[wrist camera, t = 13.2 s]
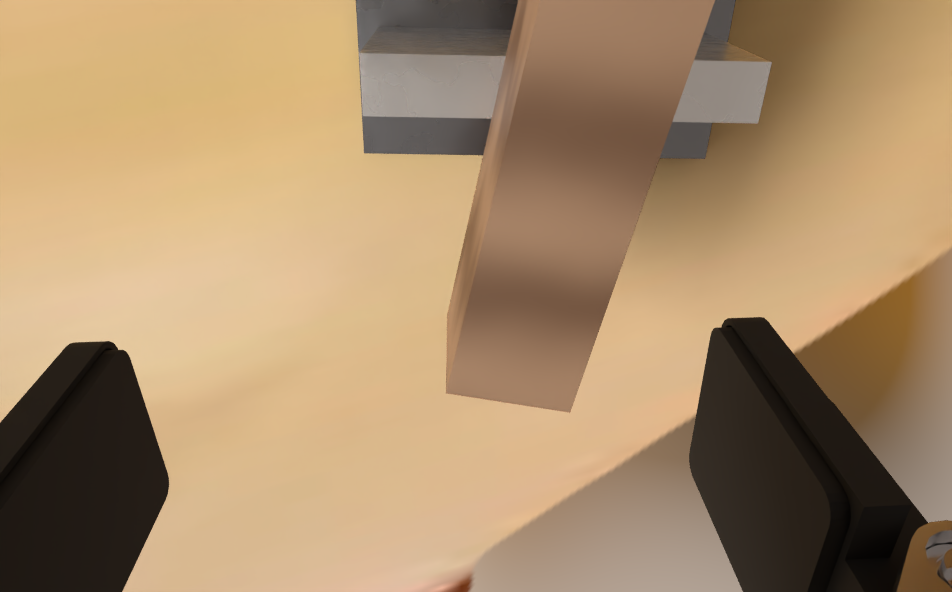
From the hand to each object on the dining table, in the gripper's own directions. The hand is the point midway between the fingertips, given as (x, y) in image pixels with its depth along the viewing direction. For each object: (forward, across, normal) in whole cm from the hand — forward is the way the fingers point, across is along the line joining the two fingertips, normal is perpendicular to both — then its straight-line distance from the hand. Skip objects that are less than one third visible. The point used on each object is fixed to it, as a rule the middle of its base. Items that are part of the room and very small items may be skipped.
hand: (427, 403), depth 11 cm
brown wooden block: (+18, -5, -1) cm, 19 cm away
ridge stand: (+27, -5, -1) cm, 27 cm away
